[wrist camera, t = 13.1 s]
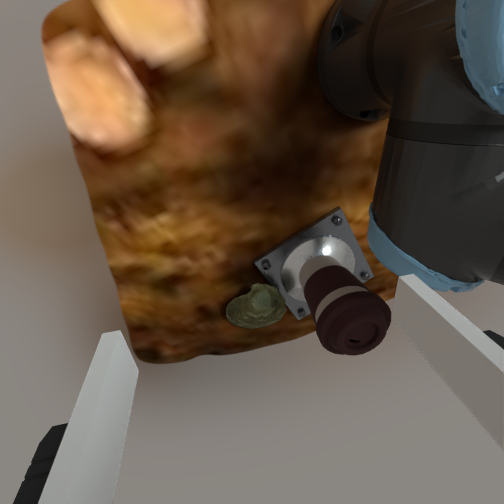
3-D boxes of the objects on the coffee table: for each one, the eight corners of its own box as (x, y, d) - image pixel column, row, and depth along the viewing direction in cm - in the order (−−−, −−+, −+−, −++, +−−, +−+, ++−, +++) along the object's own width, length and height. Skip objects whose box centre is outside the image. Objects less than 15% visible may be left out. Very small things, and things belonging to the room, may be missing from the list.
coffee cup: (330, 235, 46) (382, 291, 33) (355, 274, 51) (409, 337, 38) (279, 270, 48) (310, 337, 35) (308, 304, 52) (344, 375, 40)
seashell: (229, 336, 53) (237, 338, 43) (219, 296, 54) (225, 290, 45) (281, 321, 55) (299, 320, 46) (270, 284, 57) (286, 275, 47)
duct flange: (338, 206, 45) (342, 209, 44) (371, 273, 53) (375, 278, 52) (253, 260, 48) (255, 265, 46) (296, 316, 56) (299, 322, 54)
